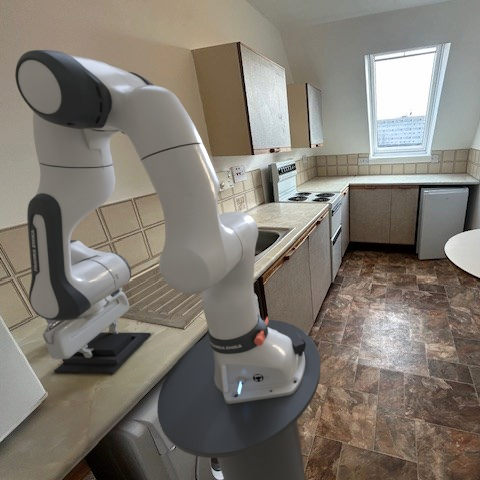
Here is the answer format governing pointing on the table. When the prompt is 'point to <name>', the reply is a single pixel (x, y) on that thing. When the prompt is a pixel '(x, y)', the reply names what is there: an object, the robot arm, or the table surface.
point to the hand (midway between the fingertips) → (103, 345)
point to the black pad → (108, 344)
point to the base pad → (102, 359)
